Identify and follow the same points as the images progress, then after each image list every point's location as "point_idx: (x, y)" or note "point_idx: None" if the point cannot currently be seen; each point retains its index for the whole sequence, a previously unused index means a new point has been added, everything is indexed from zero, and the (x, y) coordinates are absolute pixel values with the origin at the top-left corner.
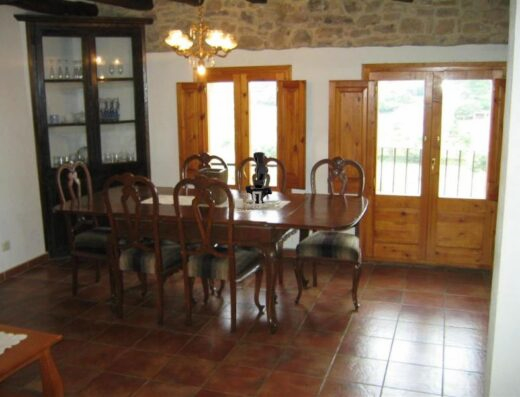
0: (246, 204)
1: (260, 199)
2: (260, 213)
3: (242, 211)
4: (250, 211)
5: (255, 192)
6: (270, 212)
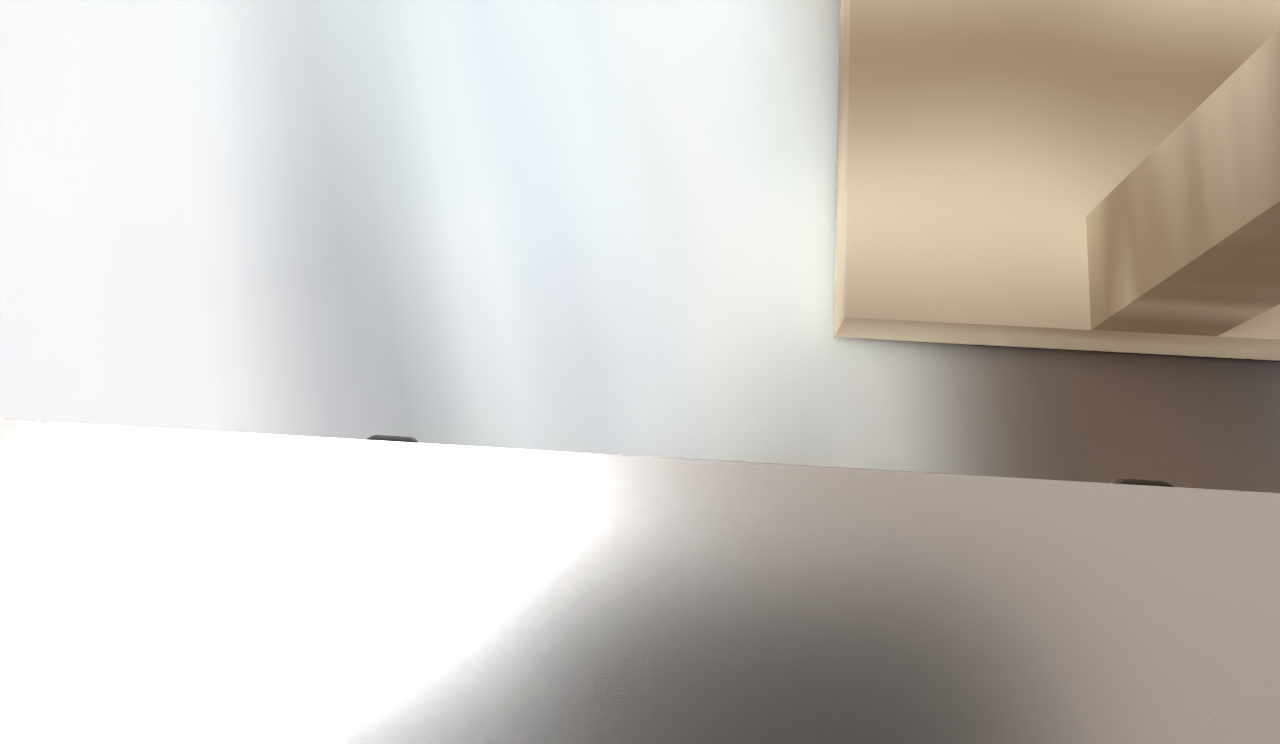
0: (1220, 181)
1: (411, 440)
2: (484, 218)
3: (1146, 7)
4: (848, 89)
5: (1104, 513)
6: None
